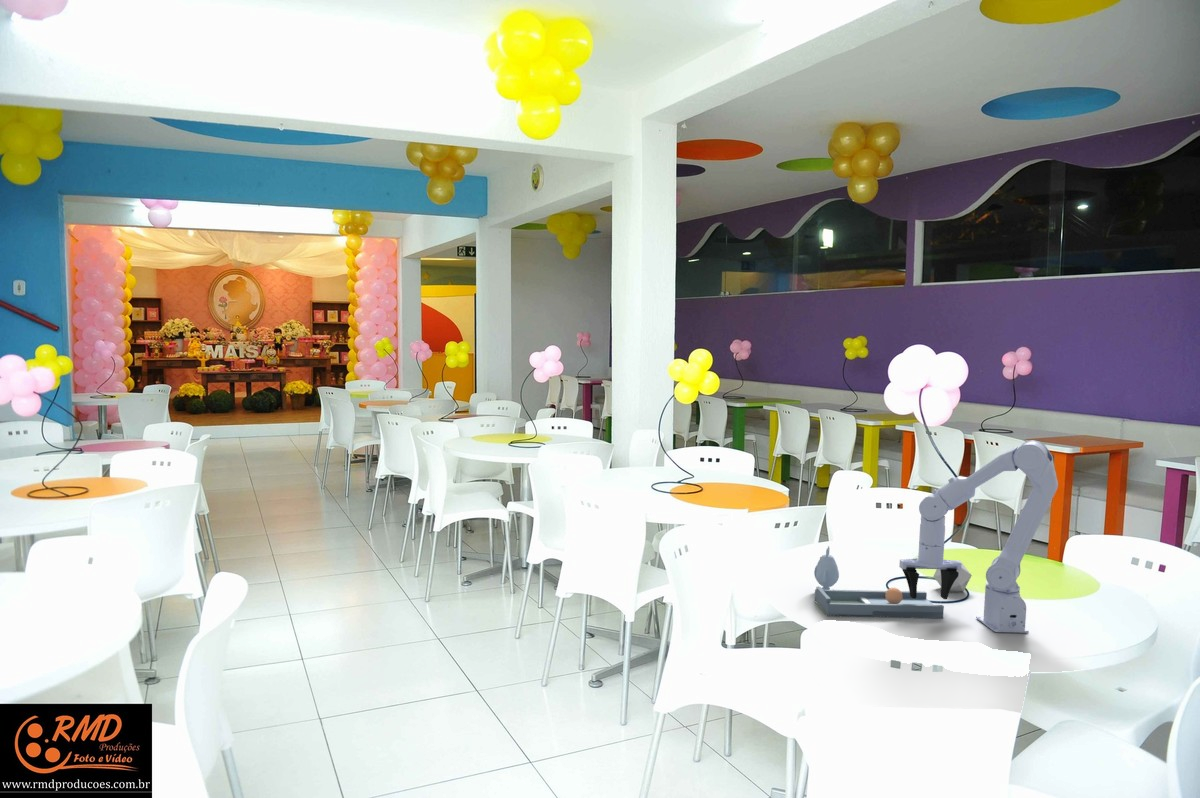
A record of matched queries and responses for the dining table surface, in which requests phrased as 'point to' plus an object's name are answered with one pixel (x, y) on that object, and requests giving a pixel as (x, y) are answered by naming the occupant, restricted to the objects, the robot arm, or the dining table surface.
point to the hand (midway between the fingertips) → (928, 597)
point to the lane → (875, 604)
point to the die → (959, 582)
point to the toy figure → (826, 571)
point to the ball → (893, 596)
